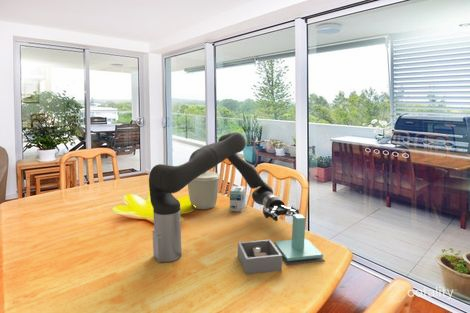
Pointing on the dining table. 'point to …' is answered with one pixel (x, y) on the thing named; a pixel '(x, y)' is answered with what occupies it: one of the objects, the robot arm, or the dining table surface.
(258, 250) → the metal spool
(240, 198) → the light bulb box
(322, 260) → the mat
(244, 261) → the tub
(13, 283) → the dining table surface
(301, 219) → the lid
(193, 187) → the canister
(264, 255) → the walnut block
